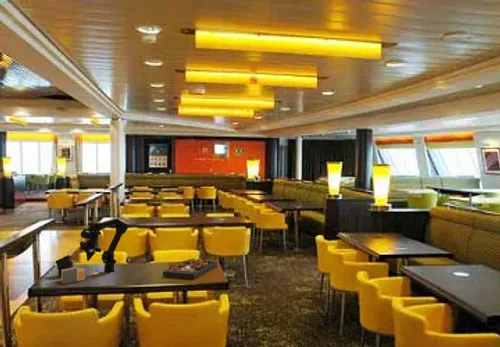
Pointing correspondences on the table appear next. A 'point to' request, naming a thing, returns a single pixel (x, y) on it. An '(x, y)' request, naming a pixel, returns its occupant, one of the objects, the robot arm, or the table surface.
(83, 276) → the block
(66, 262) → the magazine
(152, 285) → the table surface
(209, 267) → the food platter
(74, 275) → the side door
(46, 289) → the table surface
